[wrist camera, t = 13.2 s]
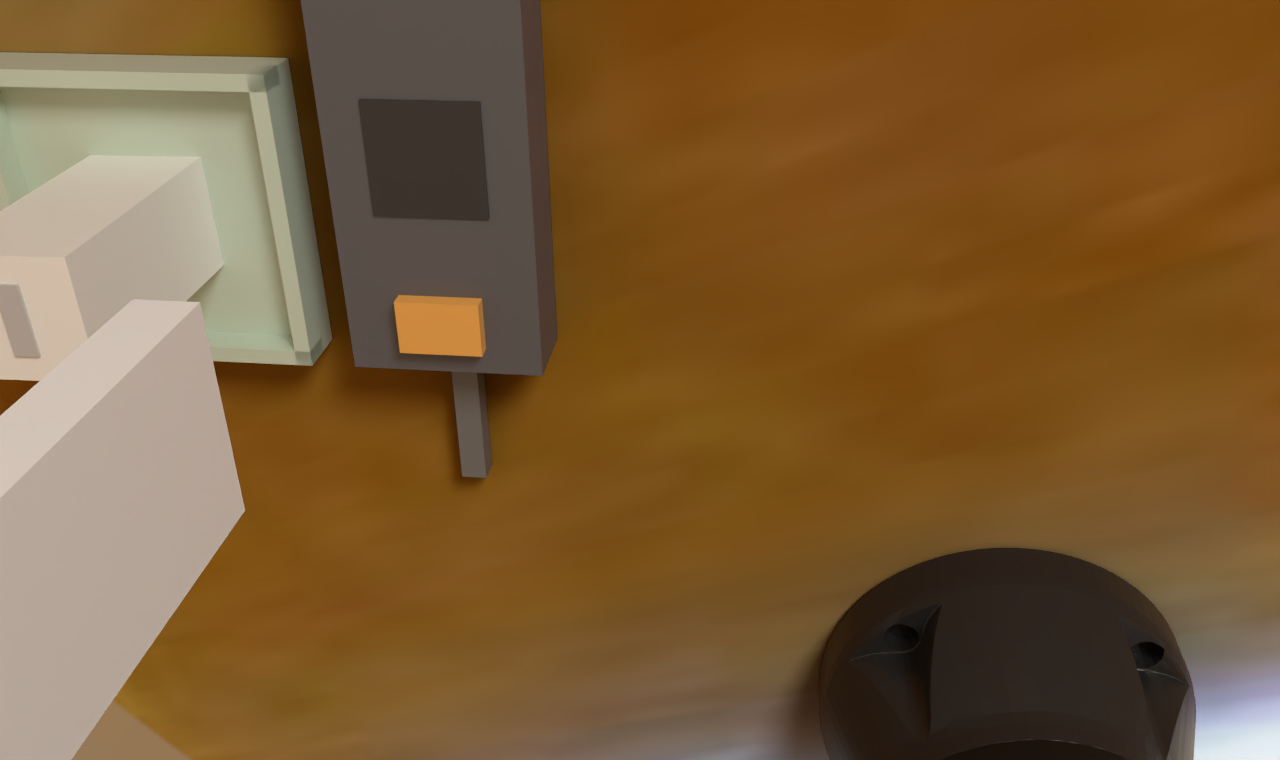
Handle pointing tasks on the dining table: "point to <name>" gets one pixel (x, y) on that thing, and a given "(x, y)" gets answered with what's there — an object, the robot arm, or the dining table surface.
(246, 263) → the dish
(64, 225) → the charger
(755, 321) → the dining table surface
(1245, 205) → the dining table surface
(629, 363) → the dining table surface
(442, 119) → the power strip
